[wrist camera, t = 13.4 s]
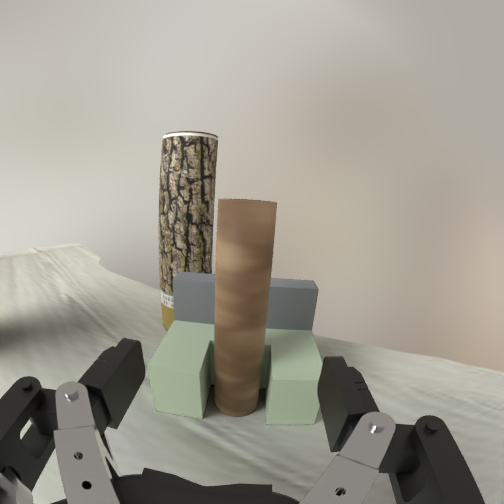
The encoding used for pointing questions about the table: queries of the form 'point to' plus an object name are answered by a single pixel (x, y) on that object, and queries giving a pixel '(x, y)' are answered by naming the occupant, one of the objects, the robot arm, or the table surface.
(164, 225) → the brown bark cylinder
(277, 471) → the table surface
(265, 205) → the brown banded cylinder
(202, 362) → the cradle
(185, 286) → the wall
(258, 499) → the robot arm
